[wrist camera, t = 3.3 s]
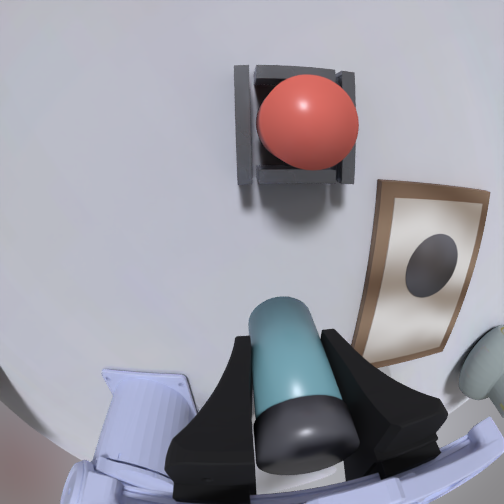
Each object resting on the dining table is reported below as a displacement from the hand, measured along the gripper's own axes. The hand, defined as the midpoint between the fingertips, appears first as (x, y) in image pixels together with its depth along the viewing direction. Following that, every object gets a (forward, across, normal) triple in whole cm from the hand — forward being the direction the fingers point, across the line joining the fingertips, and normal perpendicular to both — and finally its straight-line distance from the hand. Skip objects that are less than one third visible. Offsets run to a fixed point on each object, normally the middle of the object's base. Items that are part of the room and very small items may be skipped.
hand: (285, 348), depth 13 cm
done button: (+4, -1, -10) cm, 11 cm away
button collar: (+6, -1, -10) cm, 12 cm away
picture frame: (+6, -12, +1) cm, 13 cm away
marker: (+2, 0, 0) cm, 2 cm away
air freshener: (+6, -27, +12) cm, 30 cm away
